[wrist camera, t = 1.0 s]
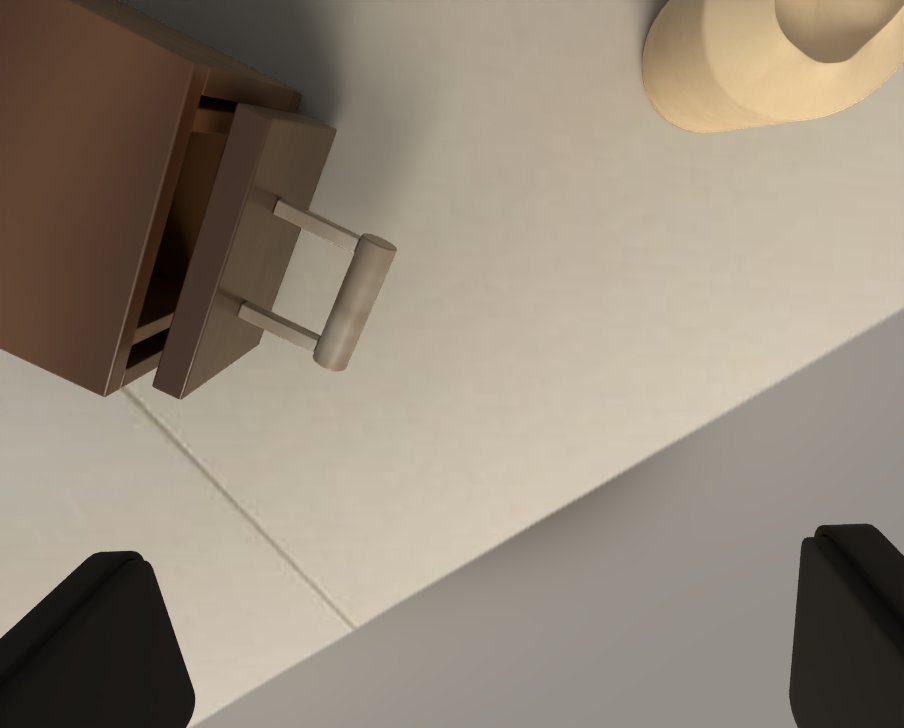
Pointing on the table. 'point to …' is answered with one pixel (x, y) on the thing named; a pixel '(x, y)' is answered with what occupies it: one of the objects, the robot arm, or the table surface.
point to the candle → (768, 59)
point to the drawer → (248, 246)
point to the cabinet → (96, 175)
